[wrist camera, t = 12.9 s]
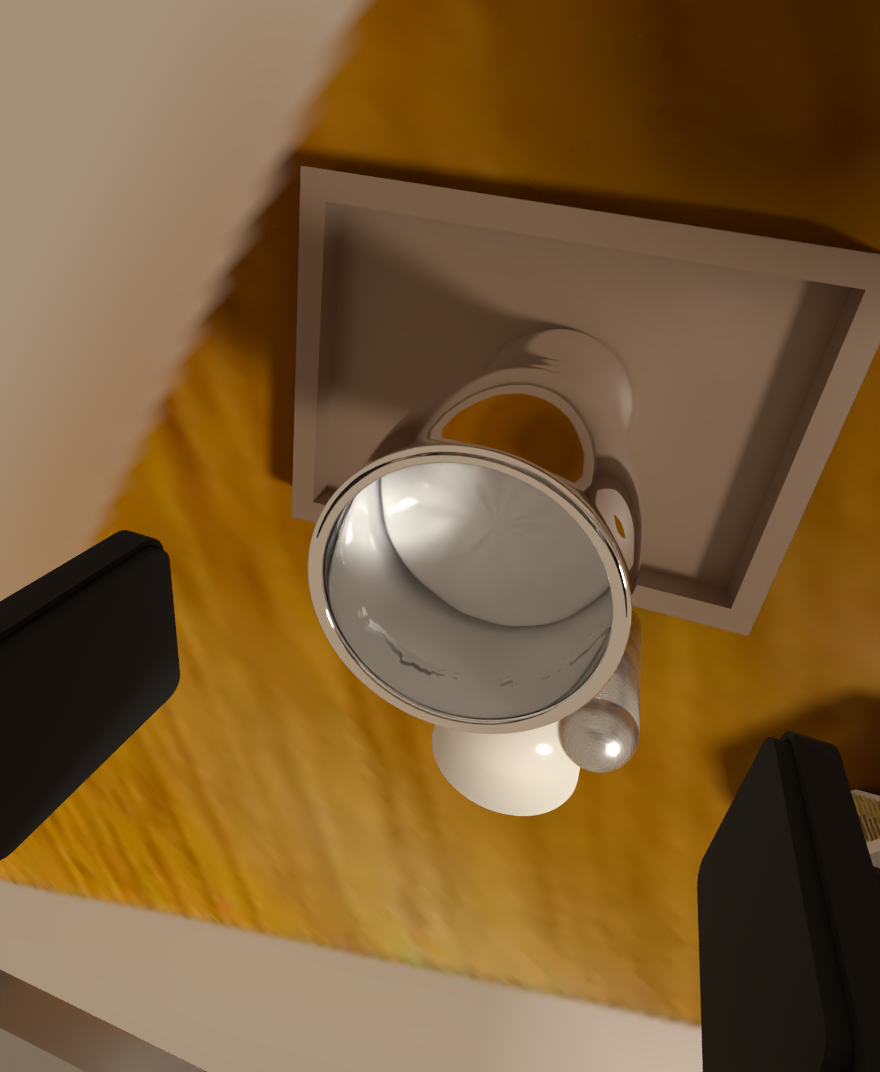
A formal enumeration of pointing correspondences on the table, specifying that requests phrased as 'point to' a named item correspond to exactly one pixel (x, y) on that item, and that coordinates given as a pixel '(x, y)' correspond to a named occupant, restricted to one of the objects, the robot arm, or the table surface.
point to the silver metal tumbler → (491, 542)
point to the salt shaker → (608, 716)
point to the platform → (869, 821)
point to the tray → (616, 321)
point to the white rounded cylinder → (507, 768)
